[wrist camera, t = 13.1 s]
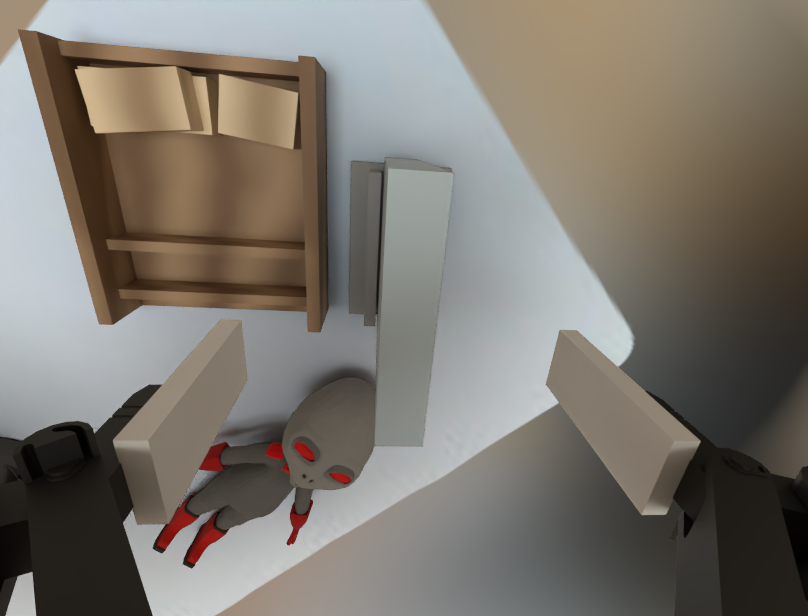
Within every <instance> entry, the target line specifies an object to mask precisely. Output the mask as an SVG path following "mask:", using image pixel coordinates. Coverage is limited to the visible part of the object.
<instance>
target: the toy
mask: <svg viewBox="0 0 808 616" xmlns="http://www.w3.org/2000/svg"><path fill="white" fill-rule="evenodd" d="M375 400H376V389H375V388H374V387H373V386H371V385H370V384H369V383H368V382H367V381H365V380H362V379H360V378H354V377H348V378H342V379H339V380H336V381H334V382H331V383H330V384H328V385H326V386H324V387H323V388H321V389H320V390H318V391H316V392H314V393H312V394H311V395H310V396H308V397H307V398H306V399H305V400H304V401H303V402H302V403H301V404H300V405H299V406H298V408H297V409H296V410H295V411H294V412H293V414H292V416H291V417H290V419H289V421H288V423H287V425H286V428H285V431H284V435H283V439H282V443H274V442H273V443H271V444H270V443H256V444H252V445H248V446H234V447H230V446H229V445H228V443H227V442H223V443H220V444H218V445H215V446H212V447H210V449H209V451H208V453H207V455H206V456H205V458H204V460H203V462H202V464H201V466H200V467H199V470H206V471H221V470H223V469H224V468H225V467H226V466H227V465H232V464H233V465H232V466H231V467H230V468H229V469H227V470H226V471H225V472H223V473H221V474H220V475H218V476H217V477H216V478H214V479H213V480H212V481H211V482H210V483H209V484H208V485H207V486H206V487H205V488H204V489H203V490H202V491H201V492H199V493H198V494H197V495H195V496H190V497H189V498H188V499H187V500H185V501H184V502H183V503H182V505H181V507H179V508H178V509H177V510H176V511H175V513H174V515H173V517H172V519H171V520H170V522H169V524H166V525H165V526H164V528H163V529H162V531H161V532H160V534H159V536H158V537H157V539H156V540H155V543H154V546H153V549H154V550H156V551H158V552H160V553H163V552H164V551H165V550H166V548H167V546H168V545H169V544H170V543H171V541H172V540H173V538H174V537H175V535H176V534H177V533H178V532H179V531H180V530H181V529H182V528H184V527H186V526H188V525H190V524H191V523H192V522H194V521H195V520H196V519H197V518H199V516H200V515H201V514H203V513H206V512H209V511H212V510H215V509H220V508H222V507H225V506H226V507H225V508H224V509H223V510H222V511H221V512H218V513H217V514H216V515H214V516H213V517H212V518H210V519H209V521H208V522H207V523H205V524H203V525H202V526H201V527H200V529H199V531H198V533H197V534H196V536H195V539H194V541H193V542H192V544H191V545H190V547H189V549H188V550H187V553H186V555H185V558H184V561H183V564H184V565H186V566H188V567H190V568H193V567H194V566H195V564H196V562H197V561H198V560H199V558H200V557H201V555H202V553H203V552H204V550H205V549H206V548H207V547H208V546H209V545H210V544H212V543H214V542H216V541H217V540H219V539H220V538H221V537H223V536H224V535H225V534H226V533H227V532H228V530H229V528H231V527H234V526H236V525H241V524H243V523H245V522H247V521H249V520H252V519H255V518H258V517H263V516H266V515H268V514H270V513H272V512H273V511H274V510H275V509H276V508H277V507H278V506H279V505H280V504H281V502H282V501H283V500H284V499H285V498H286V497H287V495H288V494H289V493H290V492H291V491H292V489H293V488H294V487H297V488H296V493H295V502H294V504H293V506H292V509H291V513H290V520H291V524H292V526H293V531H292V533H291V535H290V537H289V539H288V541H287V545H290V544H294V542H295V540H296V537H297V535H298V532H299V529H300V528H301V527H302V526H303V525H304V524H305V523H306V521H307V519H308V516H309V513H310V510H311V507H312V504H313V500H311V495H312V492H313V489H323V490H335V489H341V488H346V487H348V486H349V485H351V484H352V483H353V482H354V481H355V480H356V479H357V478H358V477H359V475H360V473H361V471H362V469H363V467H364V465H365V464H366V462H367V461H368V459H369V457H370V455H371V453H372V451H373V448H374V445H375Z"/></svg>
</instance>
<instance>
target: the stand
mask: <svg viewBox="0 0 808 616" xmlns="http://www.w3.org/2000/svg"><path fill="white" fill-rule="evenodd" d="M384 164H385V163H373V162H359V161H351V197H350V272H349V313H354V314H364V326H375V314H378V294H379V272H380V250H381V229H382V207H383V185H384ZM439 168H442V167H439ZM442 169H444V170H447V171H450V172H452V169H451V168H442Z"/></svg>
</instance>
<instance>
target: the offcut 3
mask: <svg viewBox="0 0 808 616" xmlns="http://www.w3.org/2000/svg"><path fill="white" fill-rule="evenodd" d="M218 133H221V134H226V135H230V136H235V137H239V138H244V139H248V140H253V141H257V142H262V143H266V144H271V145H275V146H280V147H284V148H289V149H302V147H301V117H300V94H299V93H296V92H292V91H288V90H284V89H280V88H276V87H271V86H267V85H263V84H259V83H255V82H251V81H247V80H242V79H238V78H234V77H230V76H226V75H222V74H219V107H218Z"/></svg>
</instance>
